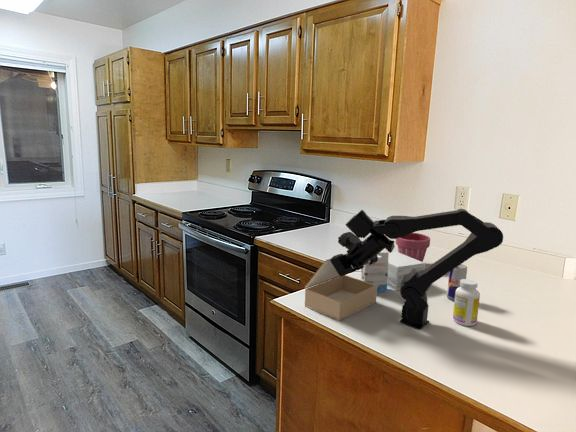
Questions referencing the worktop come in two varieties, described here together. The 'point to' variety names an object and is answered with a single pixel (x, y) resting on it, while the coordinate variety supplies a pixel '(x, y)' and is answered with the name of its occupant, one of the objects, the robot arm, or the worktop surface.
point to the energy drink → (455, 280)
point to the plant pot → (413, 245)
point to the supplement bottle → (466, 303)
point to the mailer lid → (323, 273)
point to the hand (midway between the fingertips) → (339, 272)
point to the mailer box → (340, 297)
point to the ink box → (377, 272)
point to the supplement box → (401, 268)
